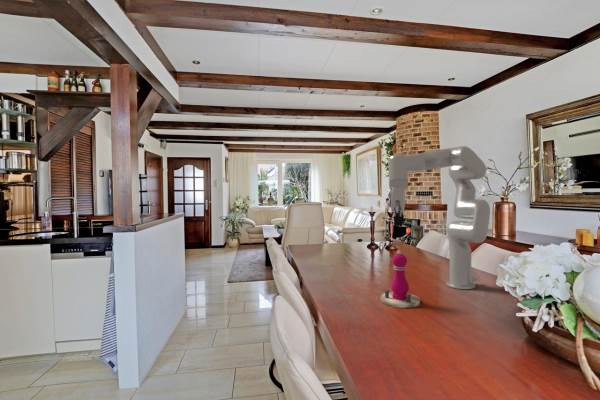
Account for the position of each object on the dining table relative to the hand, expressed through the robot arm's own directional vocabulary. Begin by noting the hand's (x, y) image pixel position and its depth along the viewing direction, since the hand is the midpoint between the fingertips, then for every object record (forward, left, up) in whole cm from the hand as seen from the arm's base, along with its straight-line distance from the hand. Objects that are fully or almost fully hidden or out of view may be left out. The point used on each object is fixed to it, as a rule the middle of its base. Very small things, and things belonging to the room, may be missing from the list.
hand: (399, 224), depth 136 cm
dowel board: (+1, +1, -32) cm, 32 cm away
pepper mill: (+1, +1, -31) cm, 31 cm away
